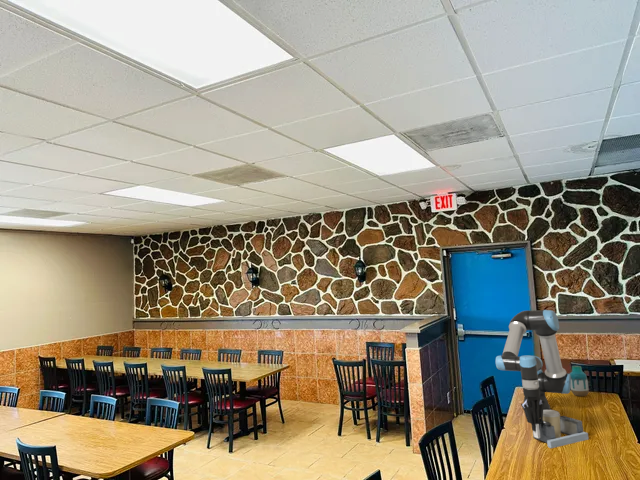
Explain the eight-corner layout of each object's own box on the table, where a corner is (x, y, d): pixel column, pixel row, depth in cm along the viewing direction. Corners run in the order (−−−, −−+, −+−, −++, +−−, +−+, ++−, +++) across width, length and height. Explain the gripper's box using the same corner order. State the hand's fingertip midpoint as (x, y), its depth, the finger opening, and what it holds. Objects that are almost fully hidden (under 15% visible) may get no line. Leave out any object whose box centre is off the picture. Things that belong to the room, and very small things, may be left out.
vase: (575, 398, 285) (571, 368, 287) (568, 394, 296) (565, 365, 298) (592, 397, 283) (588, 367, 286) (585, 393, 294) (581, 364, 296)
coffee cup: (560, 433, 223) (557, 409, 224) (564, 440, 214) (561, 414, 216) (540, 433, 226) (537, 409, 227) (543, 439, 217) (540, 414, 218)
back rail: (547, 447, 207) (546, 440, 207) (585, 438, 215) (584, 431, 215) (551, 448, 205) (550, 441, 205) (588, 439, 213) (587, 432, 213)
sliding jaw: (533, 437, 219) (531, 418, 220) (538, 436, 220) (536, 416, 221) (551, 444, 208) (548, 423, 209) (557, 443, 209) (554, 422, 211)
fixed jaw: (559, 432, 224) (557, 416, 225) (565, 431, 225) (563, 415, 226) (578, 439, 214) (576, 422, 215) (584, 437, 215) (581, 421, 216)
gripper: (526, 391, 210) (532, 442, 207) (547, 387, 214) (553, 437, 211) (515, 388, 217) (520, 437, 214) (535, 384, 221) (541, 432, 218)
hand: (537, 437), depth 213 cm, fingers closed
